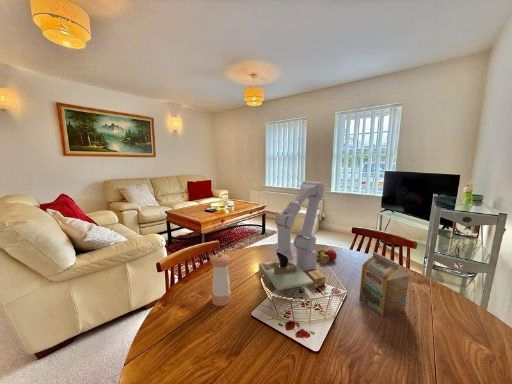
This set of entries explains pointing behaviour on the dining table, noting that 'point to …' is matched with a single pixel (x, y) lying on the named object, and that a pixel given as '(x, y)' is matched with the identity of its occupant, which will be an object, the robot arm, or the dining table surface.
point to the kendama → (326, 255)
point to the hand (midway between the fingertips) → (283, 268)
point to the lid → (288, 277)
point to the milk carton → (383, 285)
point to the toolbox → (270, 266)
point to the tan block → (316, 278)
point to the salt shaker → (221, 280)
